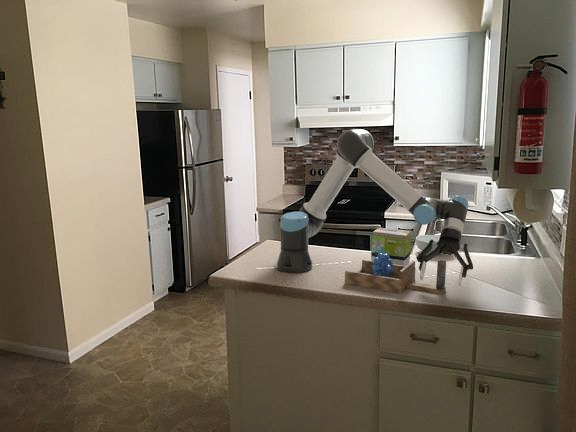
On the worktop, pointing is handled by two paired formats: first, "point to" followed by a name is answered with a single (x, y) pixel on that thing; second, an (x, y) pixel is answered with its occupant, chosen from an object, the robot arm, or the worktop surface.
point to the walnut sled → (396, 285)
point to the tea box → (392, 245)
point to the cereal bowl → (426, 241)
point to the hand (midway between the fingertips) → (439, 281)
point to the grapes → (382, 265)
